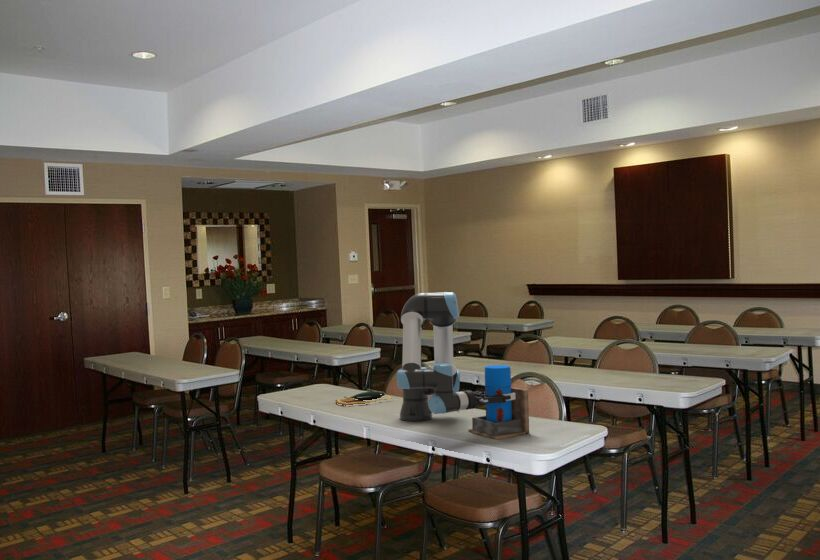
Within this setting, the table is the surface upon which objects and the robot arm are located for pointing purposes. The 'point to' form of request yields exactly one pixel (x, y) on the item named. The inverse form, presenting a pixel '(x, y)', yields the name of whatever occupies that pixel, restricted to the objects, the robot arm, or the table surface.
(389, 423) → the table surface
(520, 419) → the mount board
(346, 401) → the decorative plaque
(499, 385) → the thermos
